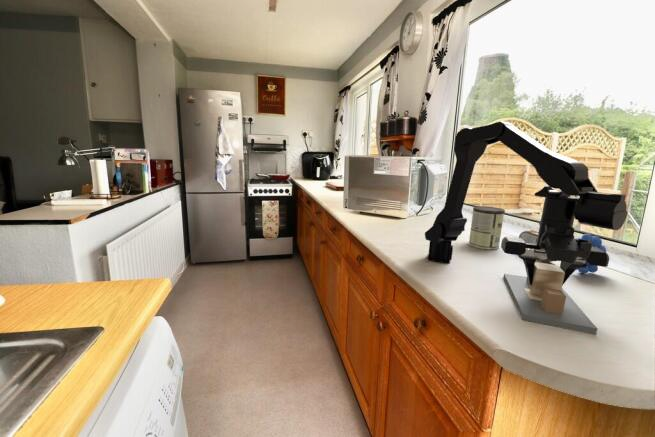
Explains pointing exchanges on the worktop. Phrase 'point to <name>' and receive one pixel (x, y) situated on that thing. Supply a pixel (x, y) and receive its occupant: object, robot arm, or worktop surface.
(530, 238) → the tin
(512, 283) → the board
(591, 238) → the grapes
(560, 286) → the maple block
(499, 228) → the coffee can
